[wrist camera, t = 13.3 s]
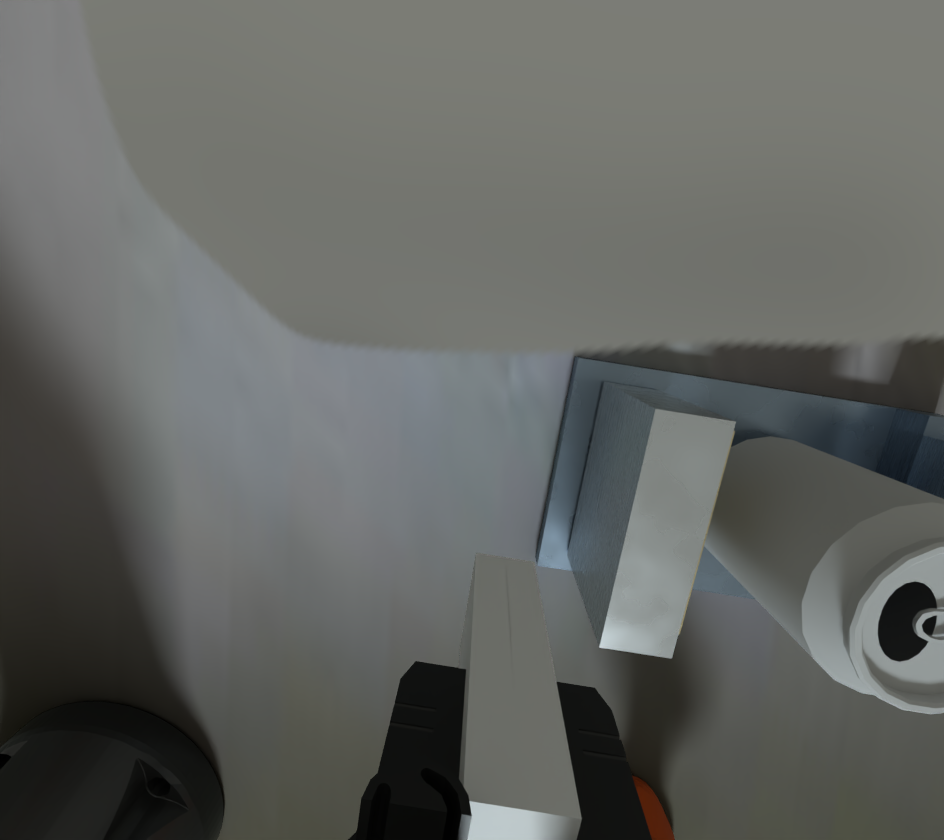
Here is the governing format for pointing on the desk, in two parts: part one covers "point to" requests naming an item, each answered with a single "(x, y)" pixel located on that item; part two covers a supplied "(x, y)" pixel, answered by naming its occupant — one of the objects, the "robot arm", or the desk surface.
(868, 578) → the can
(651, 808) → the toy drill
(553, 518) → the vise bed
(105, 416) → the desk surface
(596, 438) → the block
